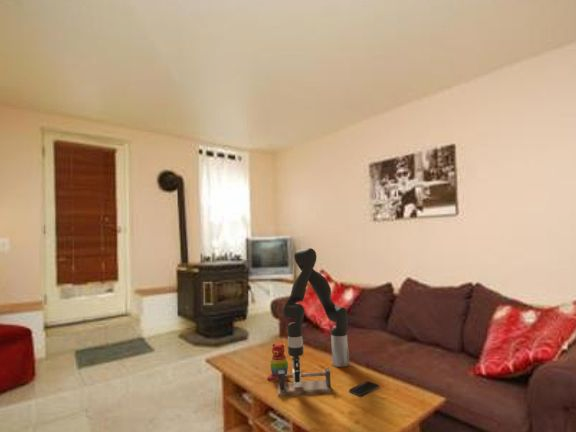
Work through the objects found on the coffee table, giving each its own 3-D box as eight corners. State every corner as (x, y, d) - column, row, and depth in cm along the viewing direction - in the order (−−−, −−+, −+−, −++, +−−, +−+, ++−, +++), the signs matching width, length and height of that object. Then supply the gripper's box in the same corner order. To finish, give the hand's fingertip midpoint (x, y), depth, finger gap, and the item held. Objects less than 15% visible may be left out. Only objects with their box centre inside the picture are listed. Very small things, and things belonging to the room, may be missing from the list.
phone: (347, 390, 168) (367, 380, 178) (348, 392, 168) (367, 383, 178) (360, 395, 162) (380, 385, 172) (361, 398, 162) (380, 387, 172)
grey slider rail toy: (328, 382, 179) (327, 364, 180) (332, 393, 167) (331, 373, 168) (277, 386, 178) (277, 367, 178) (278, 397, 166) (277, 377, 166)
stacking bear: (266, 380, 186) (264, 346, 187) (274, 373, 195) (273, 340, 196) (284, 383, 181) (282, 348, 182) (292, 375, 190) (291, 342, 191)
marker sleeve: (300, 378, 175) (300, 368, 176) (301, 382, 170) (301, 372, 171) (292, 379, 175) (292, 368, 175) (293, 383, 170) (292, 372, 170)
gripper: (304, 348, 167) (306, 385, 166) (301, 339, 181) (303, 373, 180) (288, 349, 166) (290, 386, 165) (287, 340, 181) (288, 374, 180)
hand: (297, 379), depth 173 cm, fingers closed on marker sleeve, 5 cm apart
